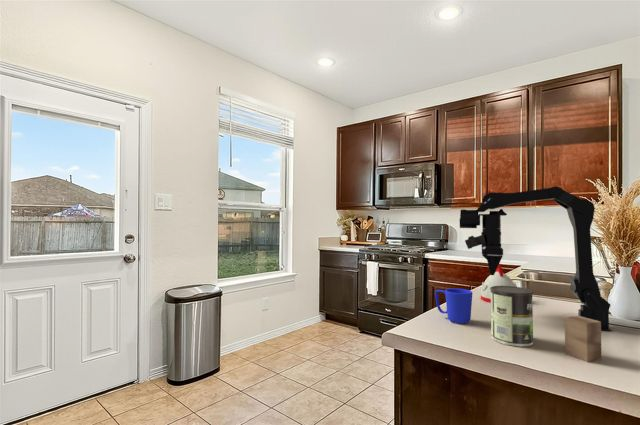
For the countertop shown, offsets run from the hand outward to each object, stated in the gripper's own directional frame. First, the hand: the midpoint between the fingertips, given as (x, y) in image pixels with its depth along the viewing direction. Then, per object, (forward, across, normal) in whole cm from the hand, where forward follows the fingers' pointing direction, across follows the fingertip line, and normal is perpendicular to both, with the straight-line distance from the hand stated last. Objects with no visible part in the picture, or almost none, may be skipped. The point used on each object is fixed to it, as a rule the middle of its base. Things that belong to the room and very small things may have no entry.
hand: (491, 273), depth 115 cm
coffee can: (+15, +24, +4) cm, 28 cm away
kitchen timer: (+15, -25, +3) cm, 29 cm away
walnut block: (+15, +29, +19) cm, 38 cm away
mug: (+15, +12, -12) cm, 22 cm away
